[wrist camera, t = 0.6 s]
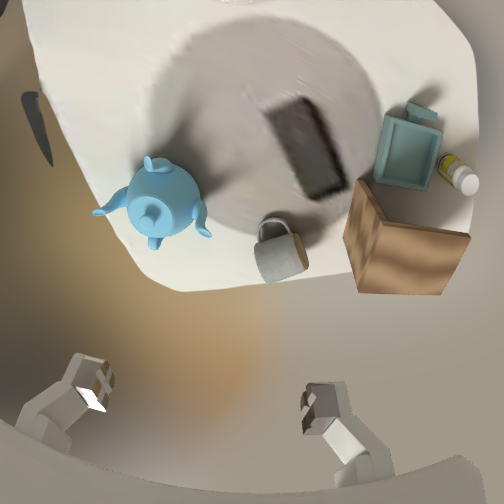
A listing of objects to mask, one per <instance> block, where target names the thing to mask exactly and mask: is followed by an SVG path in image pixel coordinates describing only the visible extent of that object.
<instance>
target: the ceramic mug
mask: <svg viewBox="0 0 504 504" xmlns="http://www.w3.org/2000/svg"><path fill="white" fill-rule="evenodd" d="M269 222H275V223H276V222H281V223H282V224H283V225H284V226H285V227H286V229H287V231H288V234H285V235H282V236H279V237H276V238H273V239H269V240H265V241H261V236H260V230H261V228H262V226H263V224H265V223H269ZM257 239H258V243H256V244H255V246H254V255H255V259H256V263H257V266H258V269H259V272H260V274H261V276H262V278H263V279H264V281H265V282H266V283H267V284H272V283H275V282H277V281H280V280H283V279H286V278H288V277H291V276H294V275H297V274H299V273H302V272H303V271H305V270H307V269H308V267H309V261H308V257H307V254H306V250H305V248H304V245H303V242H302V240H301V238H300V236H299V235H298V234H296V233H292V232H291V230H290V227H289V226H288V224H287V223H286V222H285V221H284V220H282V219H281V218H277V217H272V218H268V219H266V220H264V221H263V222H262V223H261V224H260V225H259V227H258V231H257Z"/></svg>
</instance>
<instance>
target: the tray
mask: <svg viewBox="0 0 504 504" xmlns="http://www.w3.org/2000/svg"><path fill="white" fill-rule="evenodd" d="M406 111H408V116H407V120H406V119H403V118H399V117H395V116H391V115H387V114H385V117H384V122H383V128H382V133H381V138H380V143H379V148H378V153H377V157H376V162H375V166H374V171H373V175H372V177H373V178H374V180H375V181H376V182H377V183H383V184H389V185H395V186H400V187H406V188H411V189H416V190H421V191H426V192H427V188H428V185H429V182H430V179H431V176H432V172H433V169H434V165H435V162H436V158H437V154H438V151H439V147H440V143H441V139H442V135H443V132H441V131H440V130H438V129H436V128H433V127H430V126H427V125H424V124H420V120H421V118H424V119H427V120H430V121H433V122H436V119H437V114H438V113H436V112H434V111H432V110H430V109H427V108H425V107H423V106H420V105H416V104H413V103H410V102H407V106H406Z"/></svg>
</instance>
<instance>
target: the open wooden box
mask: <svg viewBox="0 0 504 504" xmlns="http://www.w3.org/2000/svg"><path fill="white" fill-rule="evenodd" d="M470 239H471V237H470V236H469V234H468V233H463V232H457V231H450V230H444V229H437V228H431V227H424V226H417V225H410V224H402V223H395V222H389V221H388V220H387V218H386V216H385V214H384V213H383V211H382V209H381V208H380V206H379V204H378V203H377V201H376V199H375V198H374V196H373V194H372V193H371V191H370V190H369V188H368V186H367V185H366V183H365V182H364V180H359V179H357V181H356V186H355V190H354V195H353V199H352V203H351V207H350V211H349V215H348V219H347V223H346V227H345V231H344V235H343V240H344V243H345V247H346V250H347V253H348V257H349V260H350V264H351V267H352V271H353V274H354V278H355V281H356V285H357V289H358V293H373V294H403V295H441V294H442V292H443V290H444V288H445V287H446V285H447V283H448V282H449V280H450V278H451V276H452V275H453V273H454V271H455V269H456V267H457V265H458V264H459V262H460V260H461V258H462V256H463V254H464V252H465V250H466V248H467V246H468V244H469V242H470Z"/></svg>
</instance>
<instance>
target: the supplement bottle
mask: <svg viewBox="0 0 504 504" xmlns="http://www.w3.org/2000/svg"><path fill="white" fill-rule="evenodd" d="M437 170H438V172H439V174H440V175H441V176H442V177H443V178H444V179H445V180H446V181H447V182H448V183H449V184H451V185H452V186H453V187H454V188H455V189H456V190H457V191H459V192H462V193H463V194H464V195H466V196H472V195H474V194H475V193H476V192H477V190H478V188H479V179H478V177H477V175H475V174H474V173H473V171H472V169H471V168H470V167H469V166H467V165H466V164H465V163H463V162H462V161H461V160H459V159H458V158H457V157H455V156H454V155H452V154H449V153H447V154H444V155H442V156H441V157H440V158H439V160H438V163H437Z"/></svg>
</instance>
